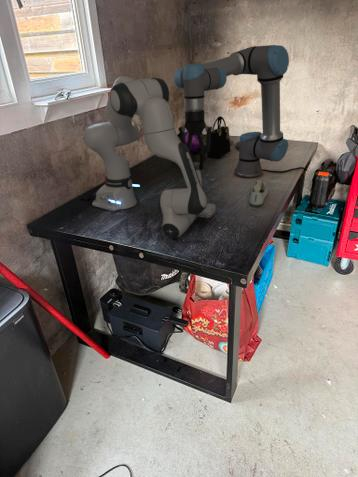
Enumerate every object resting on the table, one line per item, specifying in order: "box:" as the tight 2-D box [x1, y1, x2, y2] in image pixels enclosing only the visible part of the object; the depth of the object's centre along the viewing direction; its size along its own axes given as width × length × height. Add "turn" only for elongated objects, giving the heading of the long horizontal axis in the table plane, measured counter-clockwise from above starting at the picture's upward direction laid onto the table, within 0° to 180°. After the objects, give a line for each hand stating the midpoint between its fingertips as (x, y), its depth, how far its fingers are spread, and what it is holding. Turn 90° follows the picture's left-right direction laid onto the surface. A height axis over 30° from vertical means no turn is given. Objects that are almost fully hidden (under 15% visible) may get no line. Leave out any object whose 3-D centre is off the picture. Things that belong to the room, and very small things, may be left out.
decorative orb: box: [185, 130, 201, 154], centre depth 230 cm, size 15×15×15 cm
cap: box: [193, 161, 201, 171], centre depth 137 cm, size 4×4×2 cm
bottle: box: [196, 170, 203, 187], centre depth 143 cm, size 4×4×23 cm
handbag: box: [206, 115, 231, 159], centre depth 220 cm, size 21×9×25 cm, turn 148°
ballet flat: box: [249, 179, 269, 207], centre depth 158 cm, size 8×24×8 cm, turn 163°
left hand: (197, 200), depth 146 cm, fingers closed on bottle, 4 cm apart
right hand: (196, 168), depth 138 cm, fingers closed on cap, 4 cm apart
